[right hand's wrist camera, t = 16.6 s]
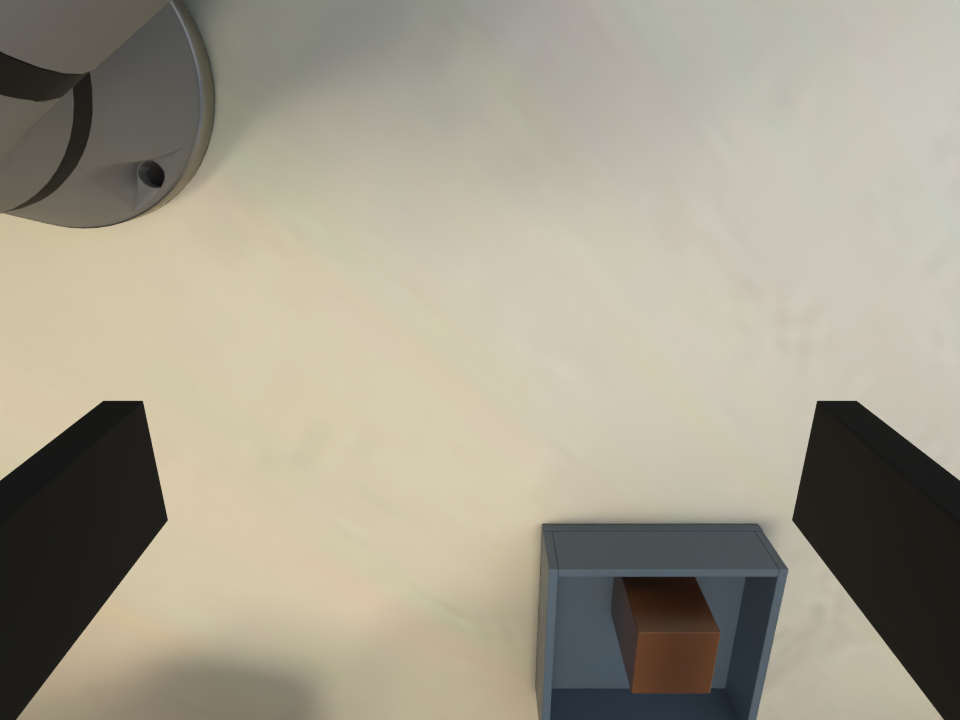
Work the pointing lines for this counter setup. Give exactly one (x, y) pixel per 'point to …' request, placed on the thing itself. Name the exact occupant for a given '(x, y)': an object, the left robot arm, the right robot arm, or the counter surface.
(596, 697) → the tray
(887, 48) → the counter surface
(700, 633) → the block
